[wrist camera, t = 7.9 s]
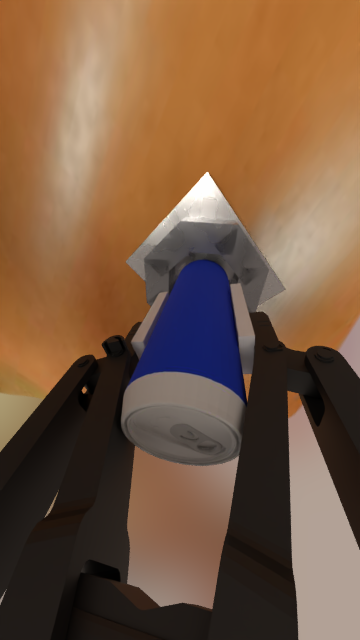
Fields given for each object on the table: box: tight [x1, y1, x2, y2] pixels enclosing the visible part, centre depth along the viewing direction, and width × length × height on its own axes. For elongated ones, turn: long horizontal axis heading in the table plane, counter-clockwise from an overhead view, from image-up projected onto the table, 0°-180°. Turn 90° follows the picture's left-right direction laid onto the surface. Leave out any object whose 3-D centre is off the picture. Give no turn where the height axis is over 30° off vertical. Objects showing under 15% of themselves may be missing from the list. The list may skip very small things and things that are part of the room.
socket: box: [126, 172, 285, 313], centre depth 20 cm, size 14×12×4 cm
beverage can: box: [121, 260, 247, 466], centre depth 13 cm, size 5×5×15 cm
